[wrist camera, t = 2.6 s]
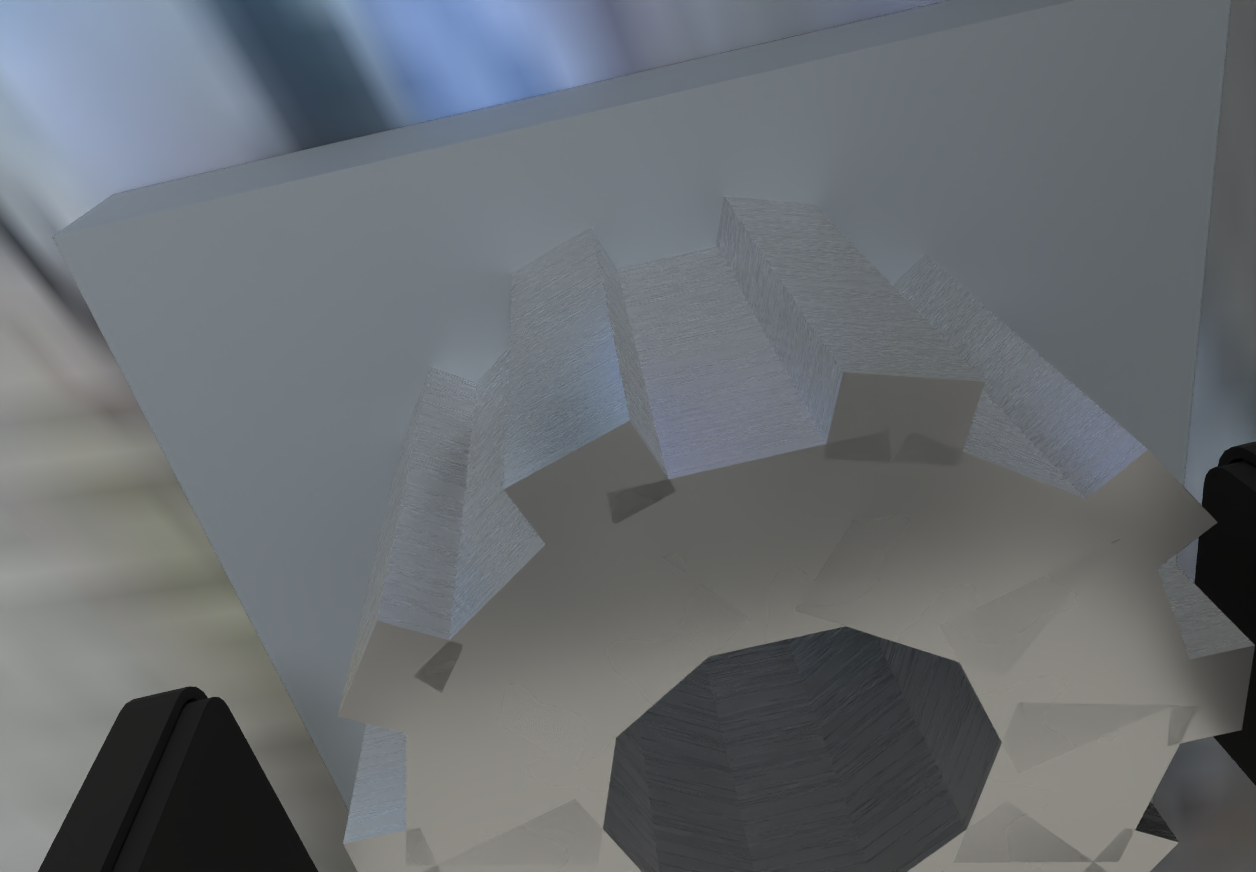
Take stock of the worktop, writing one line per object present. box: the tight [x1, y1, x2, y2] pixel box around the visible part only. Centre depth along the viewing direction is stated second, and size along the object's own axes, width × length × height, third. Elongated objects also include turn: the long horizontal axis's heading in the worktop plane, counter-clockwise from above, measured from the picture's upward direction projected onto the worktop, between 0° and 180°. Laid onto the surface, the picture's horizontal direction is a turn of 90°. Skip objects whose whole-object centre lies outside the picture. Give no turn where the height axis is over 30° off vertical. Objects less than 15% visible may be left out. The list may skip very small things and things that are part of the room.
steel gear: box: [338, 196, 1255, 872], centre depth 9 cm, size 7×7×4 cm
